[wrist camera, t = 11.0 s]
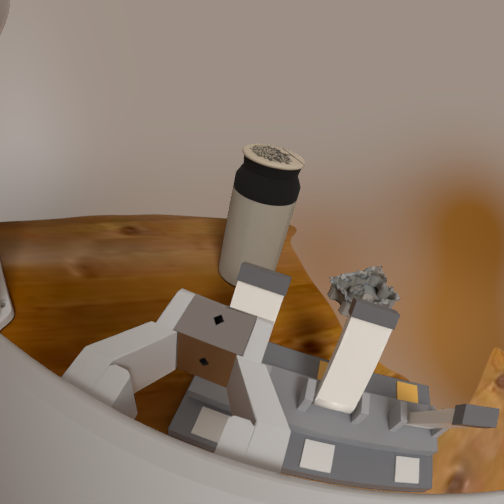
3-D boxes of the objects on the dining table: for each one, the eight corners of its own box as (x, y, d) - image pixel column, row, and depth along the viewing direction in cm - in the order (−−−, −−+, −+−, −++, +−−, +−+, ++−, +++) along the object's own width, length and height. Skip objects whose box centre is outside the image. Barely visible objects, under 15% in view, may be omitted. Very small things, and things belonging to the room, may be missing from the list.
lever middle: (351, 417, 26) (400, 314, 25) (311, 407, 27) (356, 300, 25) (349, 409, 28) (394, 310, 26) (310, 399, 28) (353, 296, 27)
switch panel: (423, 492, 22) (453, 477, 19) (168, 434, 25) (167, 413, 22) (421, 392, 33) (444, 369, 31) (218, 333, 36) (224, 303, 34)
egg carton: (373, 283, 51) (383, 264, 49) (396, 315, 46) (408, 295, 43) (320, 287, 48) (329, 265, 45) (342, 323, 42) (354, 302, 40)
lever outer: (429, 430, 26) (496, 427, 16) (398, 425, 26) (462, 424, 17) (432, 416, 27) (499, 408, 17) (402, 410, 27) (466, 403, 18)
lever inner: (251, 389, 27) (290, 280, 26) (207, 374, 28) (241, 263, 26) (253, 381, 29) (291, 276, 27) (212, 366, 29) (244, 261, 28)
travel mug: (224, 292, 42) (250, 163, 32) (214, 255, 48) (234, 139, 38) (279, 290, 45) (318, 171, 35) (263, 255, 51) (292, 147, 41)
